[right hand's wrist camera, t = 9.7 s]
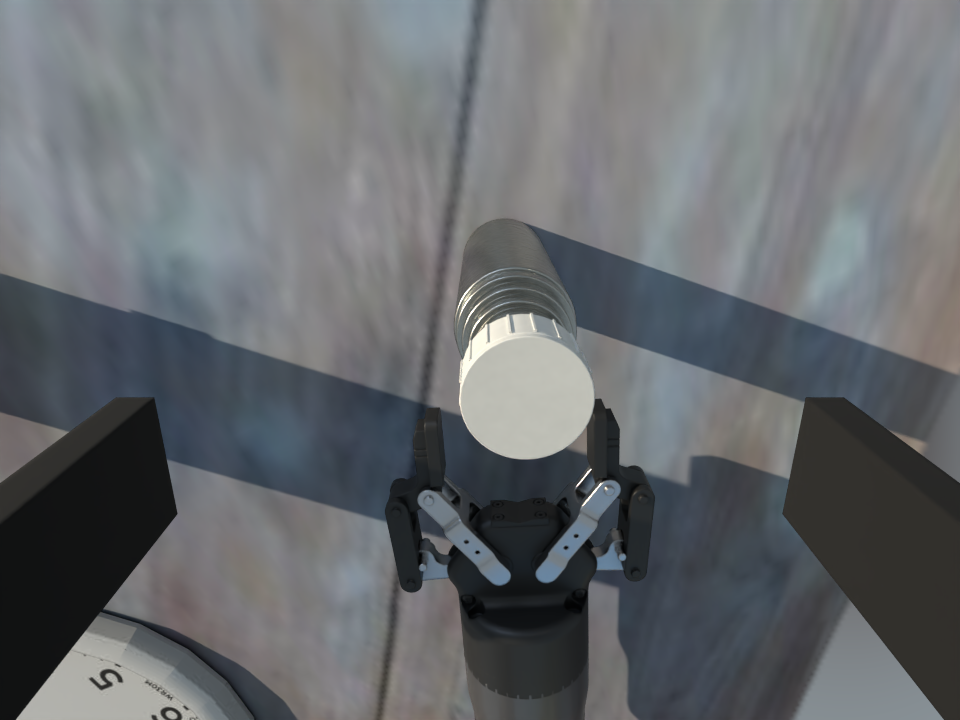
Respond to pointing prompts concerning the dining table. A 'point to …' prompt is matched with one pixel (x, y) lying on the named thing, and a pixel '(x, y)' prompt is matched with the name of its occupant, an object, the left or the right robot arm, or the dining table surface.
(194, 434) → the dining table surface
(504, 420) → the cap
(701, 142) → the dining table surface
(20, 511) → the right robot arm
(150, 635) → the wall clock
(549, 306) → the bottle
